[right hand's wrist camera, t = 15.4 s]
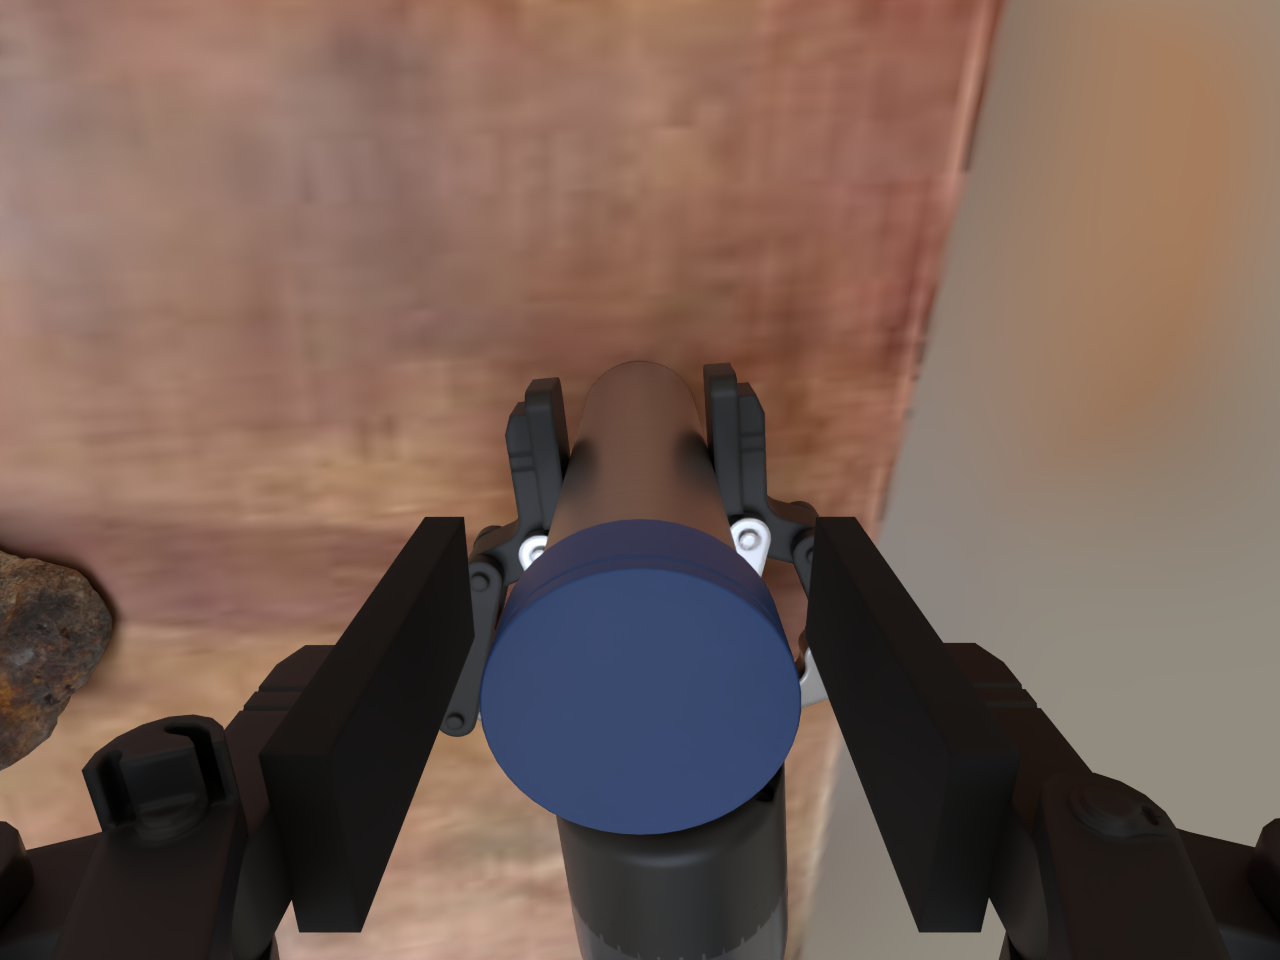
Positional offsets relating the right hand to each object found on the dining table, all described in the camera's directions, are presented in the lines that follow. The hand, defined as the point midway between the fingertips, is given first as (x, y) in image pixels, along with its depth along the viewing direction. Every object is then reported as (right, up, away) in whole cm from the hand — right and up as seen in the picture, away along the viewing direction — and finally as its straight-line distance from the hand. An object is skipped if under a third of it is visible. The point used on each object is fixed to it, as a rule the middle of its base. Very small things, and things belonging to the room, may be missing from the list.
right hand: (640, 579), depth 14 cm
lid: (0, -1, -3) cm, 4 cm away
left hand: (0, +5, +5) cm, 7 cm away
